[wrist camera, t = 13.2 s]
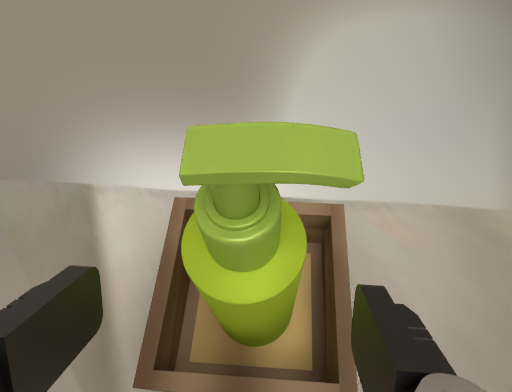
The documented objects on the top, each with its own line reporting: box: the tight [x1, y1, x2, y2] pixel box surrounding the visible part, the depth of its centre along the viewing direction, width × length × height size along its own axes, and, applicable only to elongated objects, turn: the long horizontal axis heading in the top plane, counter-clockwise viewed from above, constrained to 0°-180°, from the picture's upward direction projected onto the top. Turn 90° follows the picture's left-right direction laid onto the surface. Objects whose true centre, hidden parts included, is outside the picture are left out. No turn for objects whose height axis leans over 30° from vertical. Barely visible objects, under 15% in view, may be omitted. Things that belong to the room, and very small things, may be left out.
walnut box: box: [133, 197, 357, 392], centre depth 26 cm, size 13×13×6 cm
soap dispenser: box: [179, 122, 364, 347], centre depth 19 cm, size 6×7×20 cm
